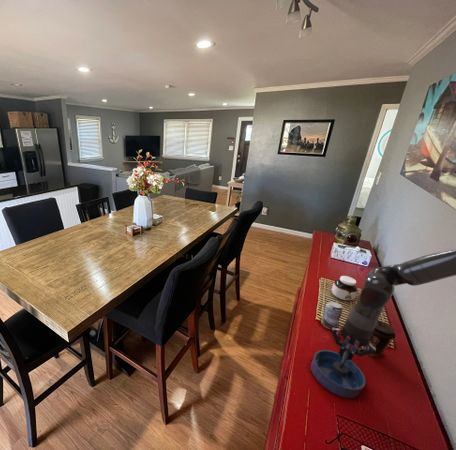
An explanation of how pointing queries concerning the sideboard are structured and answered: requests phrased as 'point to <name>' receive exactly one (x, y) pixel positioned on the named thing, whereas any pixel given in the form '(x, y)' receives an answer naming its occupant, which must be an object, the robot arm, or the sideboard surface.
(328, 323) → the beverage can
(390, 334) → the coffee cup
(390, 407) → the sideboard surface
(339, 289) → the spread jar
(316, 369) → the bowl
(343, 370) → the door handle
